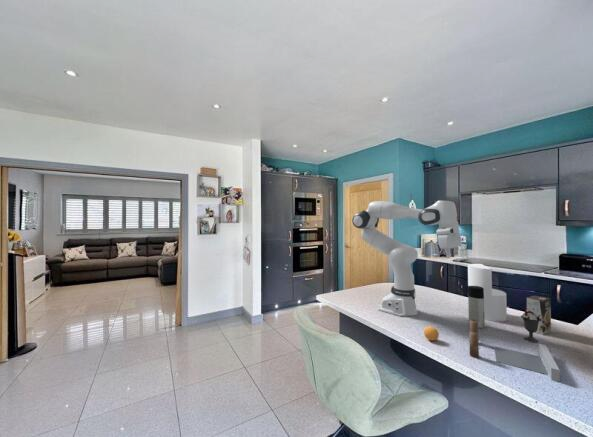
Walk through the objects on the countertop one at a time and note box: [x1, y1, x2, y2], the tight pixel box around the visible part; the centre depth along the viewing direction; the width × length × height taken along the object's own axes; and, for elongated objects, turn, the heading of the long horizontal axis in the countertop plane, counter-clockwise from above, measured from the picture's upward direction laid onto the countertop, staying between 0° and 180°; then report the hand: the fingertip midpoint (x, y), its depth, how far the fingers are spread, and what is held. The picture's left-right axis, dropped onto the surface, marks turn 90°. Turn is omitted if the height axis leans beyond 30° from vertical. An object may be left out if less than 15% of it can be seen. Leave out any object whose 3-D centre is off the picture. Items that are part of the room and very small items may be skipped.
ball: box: [423, 325, 440, 342], centre depth 113 cm, size 6×6×6 cm
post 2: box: [468, 331, 480, 359], centre depth 100 cm, size 3×3×9 cm
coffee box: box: [526, 295, 552, 336], centre depth 121 cm, size 9×6×16 cm
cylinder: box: [467, 263, 508, 322], centre depth 141 cm, size 17×17×28 cm
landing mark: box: [493, 345, 548, 375], centre depth 97 cm, size 14×14×1 cm
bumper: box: [538, 343, 561, 383], centre depth 92 cm, size 2×20×4 cm, turn 144°
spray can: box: [467, 285, 486, 329], centre depth 128 cm, size 7×7×20 cm
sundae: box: [520, 305, 541, 344], centre depth 112 cm, size 7×7×15 cm
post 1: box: [469, 321, 479, 334], centre depth 111 cm, size 3×3×9 cm
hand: (452, 256), depth 128 cm, fingers open, 8 cm apart
